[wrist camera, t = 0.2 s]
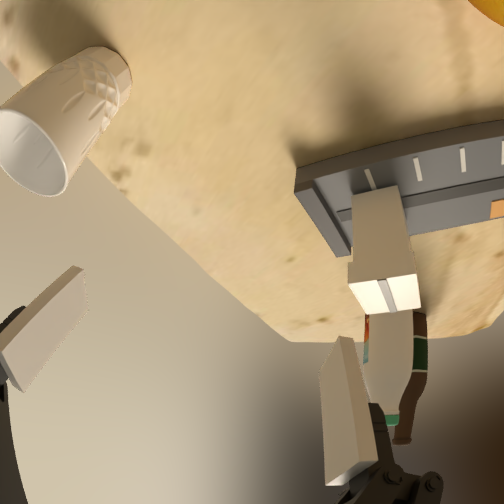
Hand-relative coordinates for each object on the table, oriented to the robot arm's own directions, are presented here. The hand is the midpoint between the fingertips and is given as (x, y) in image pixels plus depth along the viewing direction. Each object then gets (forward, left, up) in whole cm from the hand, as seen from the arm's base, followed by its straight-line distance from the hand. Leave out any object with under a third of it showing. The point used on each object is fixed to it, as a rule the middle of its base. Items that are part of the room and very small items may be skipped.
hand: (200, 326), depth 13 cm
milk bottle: (+23, +24, -16) cm, 37 cm away
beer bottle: (+30, +33, -16) cm, 48 cm away
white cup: (-4, -14, -16) cm, 21 cm away
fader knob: (+3, +12, -13) cm, 18 cm away
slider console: (-1, +16, -16) cm, 23 cm away
